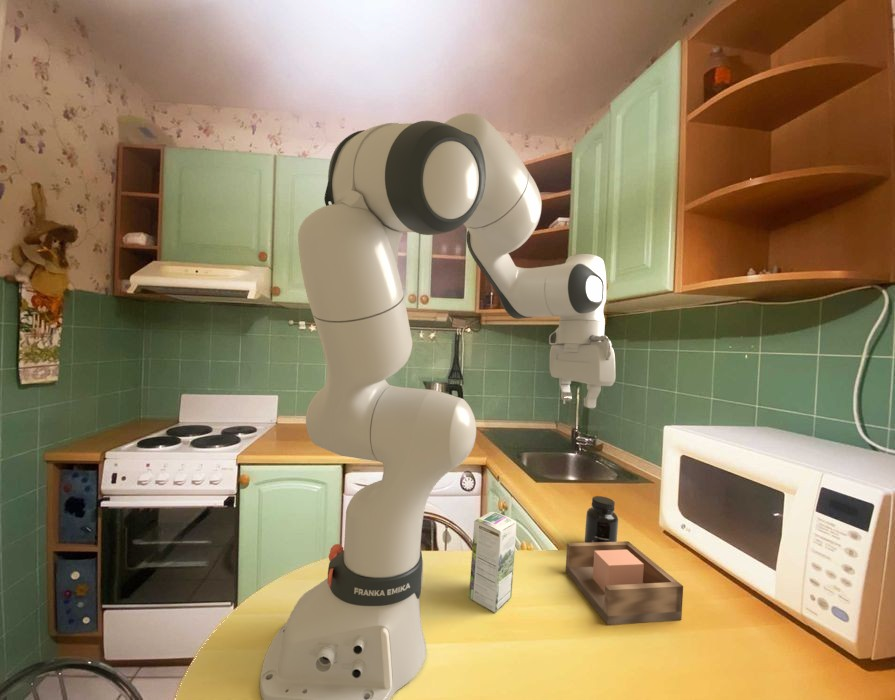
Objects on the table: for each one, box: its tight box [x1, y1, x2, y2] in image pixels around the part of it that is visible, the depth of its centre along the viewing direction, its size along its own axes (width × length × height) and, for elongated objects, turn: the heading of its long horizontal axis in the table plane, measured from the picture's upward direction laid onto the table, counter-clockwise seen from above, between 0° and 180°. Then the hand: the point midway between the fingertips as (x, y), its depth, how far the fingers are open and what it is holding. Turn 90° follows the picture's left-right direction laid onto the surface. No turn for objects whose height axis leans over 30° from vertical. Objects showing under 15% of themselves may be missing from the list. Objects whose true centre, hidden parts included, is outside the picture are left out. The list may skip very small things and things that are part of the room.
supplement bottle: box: [583, 495, 619, 543], centre depth 86 cm, size 7×7×12 cm
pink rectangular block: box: [593, 550, 644, 592], centre depth 71 cm, size 7×5×6 cm
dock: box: [565, 540, 684, 626], centre depth 71 cm, size 14×15×6 cm
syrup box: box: [468, 511, 517, 613], centre depth 68 cm, size 6×6×14 cm
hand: (577, 403), depth 76 cm, fingers open, 8 cm apart
